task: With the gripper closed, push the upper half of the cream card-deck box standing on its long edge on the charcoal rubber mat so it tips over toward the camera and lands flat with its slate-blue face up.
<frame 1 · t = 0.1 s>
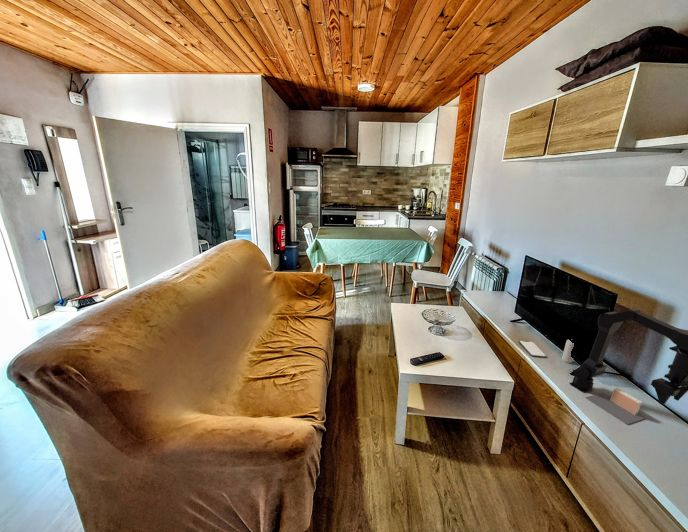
hand: (668, 402, 112), 15 cm above the table, fingers open, 9 cm apart
deck: (623, 406, 129), resting on mat
mat: (614, 407, 129), on the table
phone case: (531, 350, 173), on the table
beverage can: (566, 361, 163), on the table
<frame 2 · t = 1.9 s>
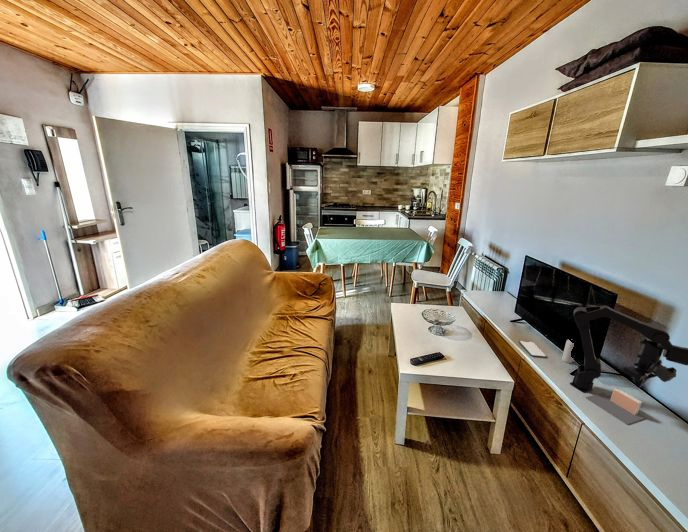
hand: (638, 386, 129), 9 cm above the table, fingers closed
nothing on the table moved.
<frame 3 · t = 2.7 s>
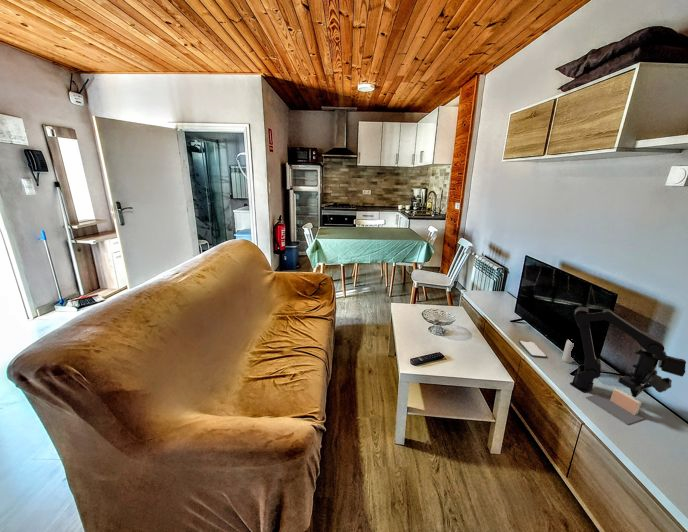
hand: (634, 396, 130), 4 cm above the table, fingers closed
nothing on the table moved.
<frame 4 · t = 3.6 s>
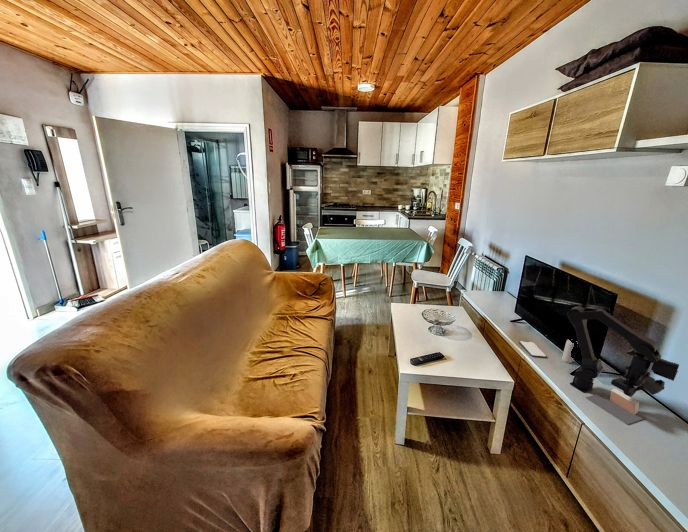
hand: (627, 398, 129), 4 cm above the table, fingers closed
deck: (623, 406, 129), point 1 cm above the table, tilted 17°, touching mat
everything else where it was.
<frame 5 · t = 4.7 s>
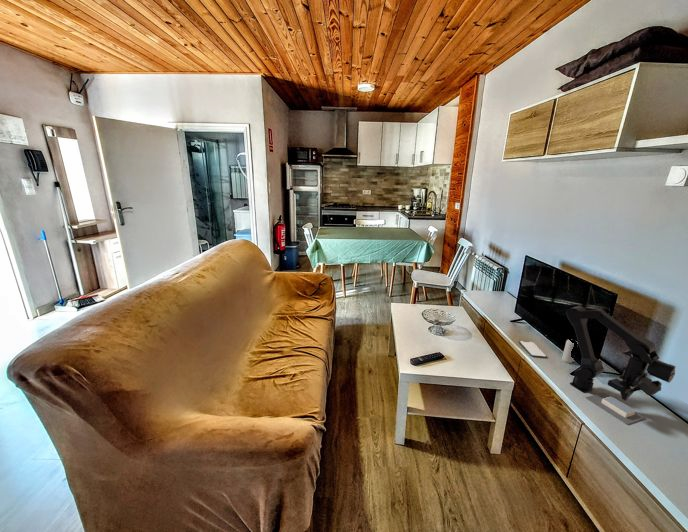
hand: (624, 399, 128), 5 cm above the table, fingers closed
deck: (622, 405, 129), point 1 cm above the table, tilted 90°, touching mat
everything else where it was.
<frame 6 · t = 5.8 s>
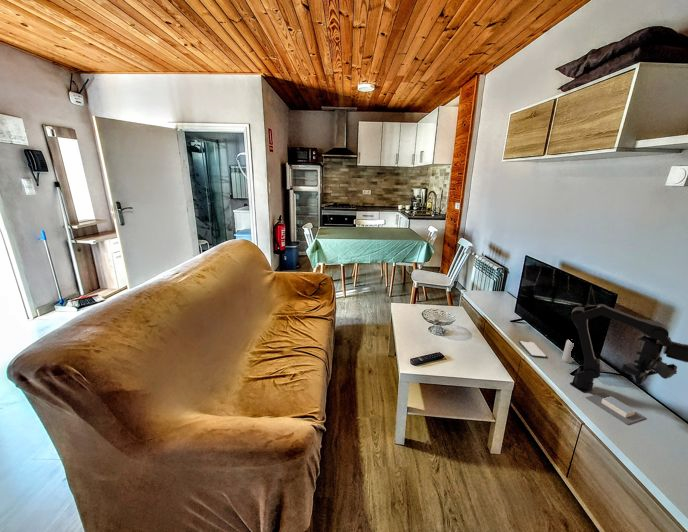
hand: (638, 384, 128), 11 cm above the table, fingers closed
nothing on the table moved.
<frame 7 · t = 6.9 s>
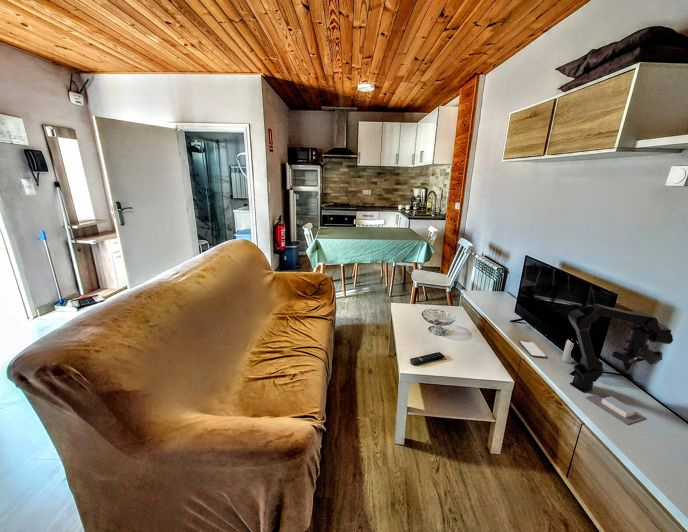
hand: (627, 370, 136), 12 cm above the table, fingers closed
nothing on the table moved.
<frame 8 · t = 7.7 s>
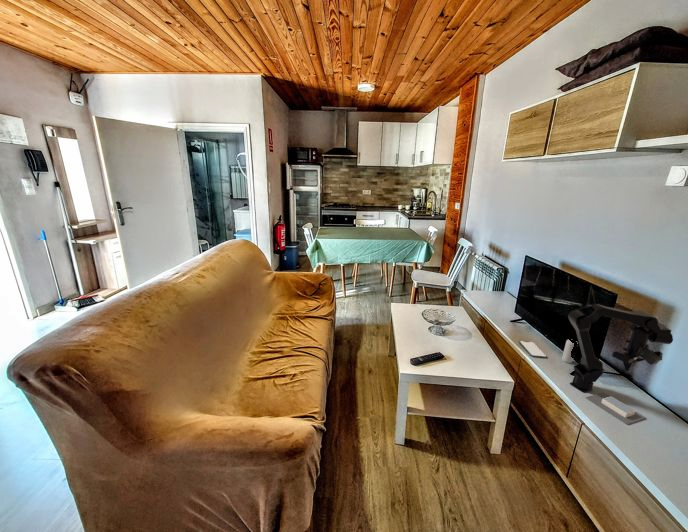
hand: (627, 370, 136), 12 cm above the table, fingers closed
nothing on the table moved.
at the end: deck tilted 90°; deck inside the target area on the mat (2.9 cm from its centre), point 1.5 cm above the mat's base; deck point 1.5 cm above the table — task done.
